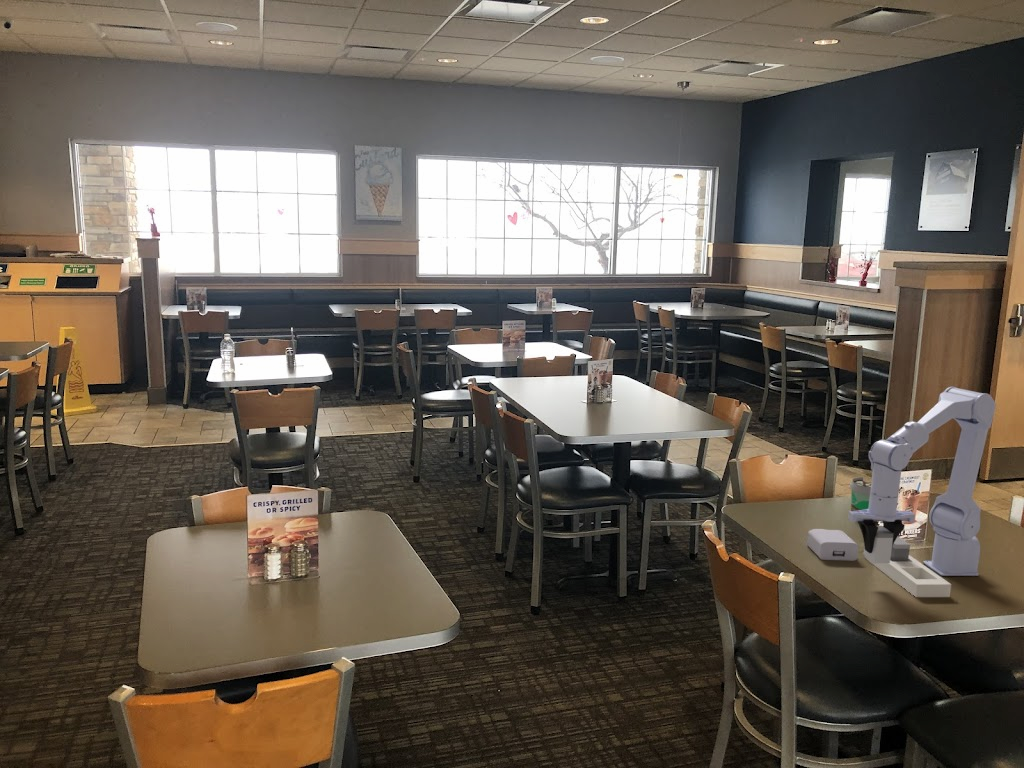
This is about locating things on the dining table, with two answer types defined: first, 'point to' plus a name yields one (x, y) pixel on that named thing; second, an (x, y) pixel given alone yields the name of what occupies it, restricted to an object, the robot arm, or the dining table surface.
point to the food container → (860, 494)
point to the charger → (832, 545)
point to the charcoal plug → (900, 551)
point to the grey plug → (881, 546)
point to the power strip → (915, 578)
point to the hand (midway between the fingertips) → (877, 551)
